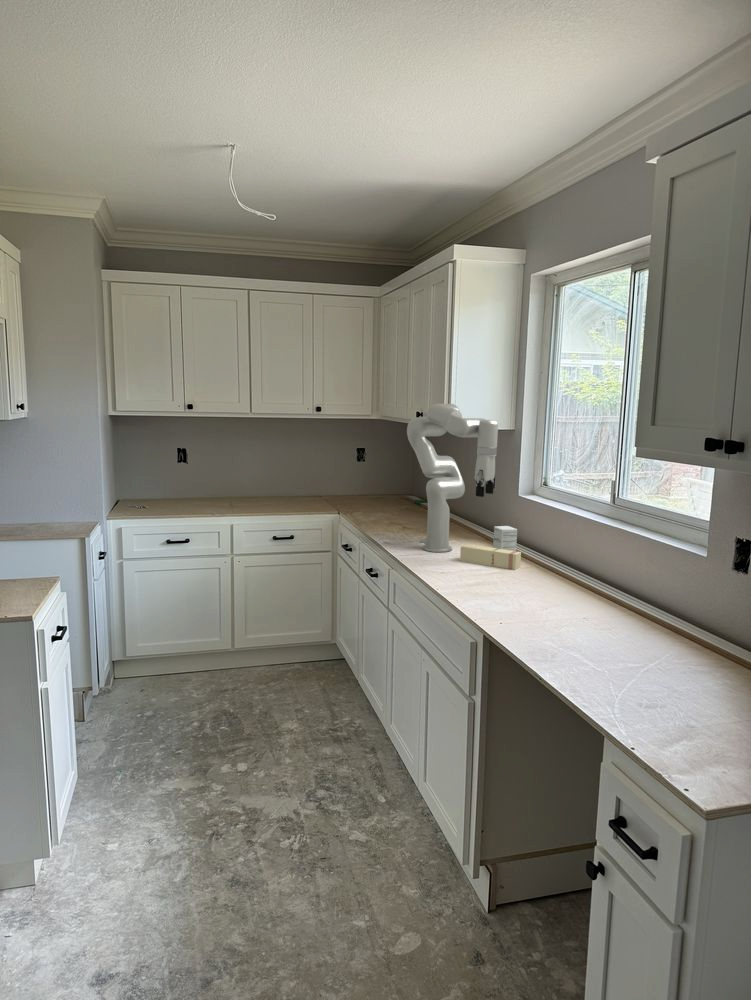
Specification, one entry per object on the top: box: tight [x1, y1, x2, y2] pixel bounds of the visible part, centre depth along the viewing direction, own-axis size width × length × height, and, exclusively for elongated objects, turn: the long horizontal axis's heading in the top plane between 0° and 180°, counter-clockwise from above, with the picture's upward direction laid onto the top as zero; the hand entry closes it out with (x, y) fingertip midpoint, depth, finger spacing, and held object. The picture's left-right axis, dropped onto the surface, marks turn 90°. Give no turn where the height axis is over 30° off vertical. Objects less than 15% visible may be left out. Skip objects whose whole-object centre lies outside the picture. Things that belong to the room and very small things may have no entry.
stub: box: [492, 549, 522, 571], centre depth 264 cm, size 9×6×6 cm, turn 57°
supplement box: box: [492, 525, 518, 551], centre depth 284 cm, size 7×7×13 cm
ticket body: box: [459, 543, 498, 567], centre depth 271 cm, size 14×6×6 cm, turn 57°
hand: (484, 494), depth 267 cm, fingers open, 9 cm apart
